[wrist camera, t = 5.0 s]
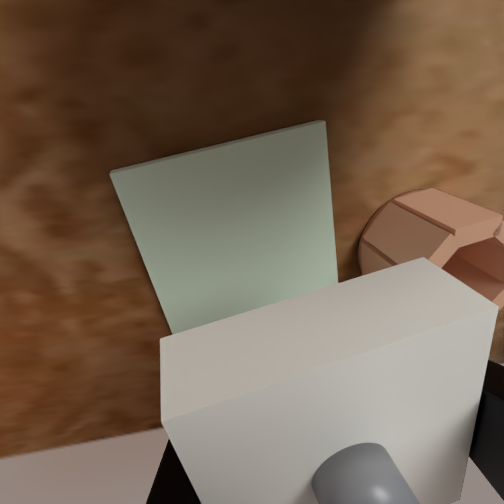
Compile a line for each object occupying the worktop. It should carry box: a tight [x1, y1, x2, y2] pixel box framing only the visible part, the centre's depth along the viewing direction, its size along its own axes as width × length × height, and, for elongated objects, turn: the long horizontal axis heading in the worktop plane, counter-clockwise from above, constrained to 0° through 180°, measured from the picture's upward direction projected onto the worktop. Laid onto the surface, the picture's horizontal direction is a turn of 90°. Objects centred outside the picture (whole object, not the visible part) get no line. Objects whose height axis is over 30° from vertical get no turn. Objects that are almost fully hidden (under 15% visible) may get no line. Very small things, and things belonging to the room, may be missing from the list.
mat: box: [109, 120, 338, 334], centre depth 13 cm, size 7×8×1 cm
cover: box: [160, 257, 499, 504], centre depth 7 cm, size 6×6×3 cm
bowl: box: [358, 188, 504, 311], centre depth 13 cm, size 5×5×4 cm
